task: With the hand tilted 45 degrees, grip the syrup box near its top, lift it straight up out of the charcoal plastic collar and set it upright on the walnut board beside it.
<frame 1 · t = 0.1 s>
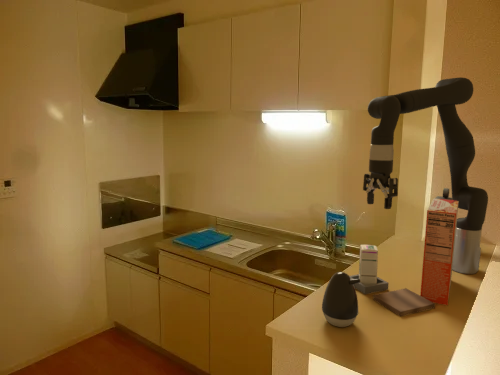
hand: (378, 206, 128), 29 cm above the worktop, tool pointing down, fingers open, 8 cm apart
board: (403, 303, 122), on the worktop
holder: (366, 286, 135), on the worktop
toy vending machine: (438, 247, 179), on the worktop
syrup box: (366, 286, 135), resting in holder
pump dispenser: (339, 323, 110), on the worktop
pasta box: (436, 289, 133), on the worktop
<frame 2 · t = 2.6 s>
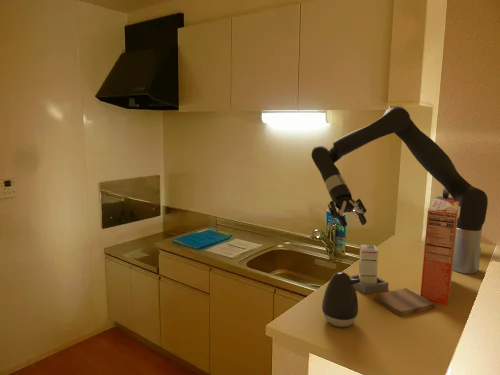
hand: (355, 225, 139), 20 cm above the worktop, tool tilted 45°, fingers open, 8 cm apart
nothing on the worktop moved.
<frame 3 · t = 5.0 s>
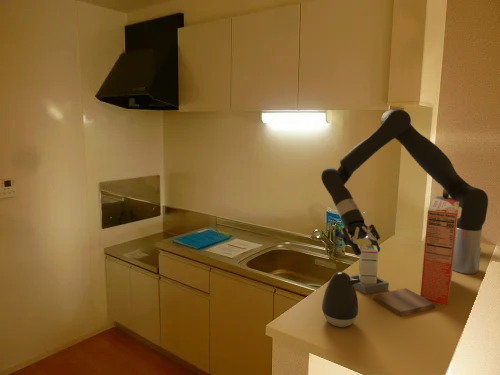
hand: (368, 253, 133), 12 cm above the worktop, tool tilted 45°, fingers closed on syrup box, 7 cm apart
syrup box: (366, 286, 135), resting in holder, touching gripper
everything else where it was.
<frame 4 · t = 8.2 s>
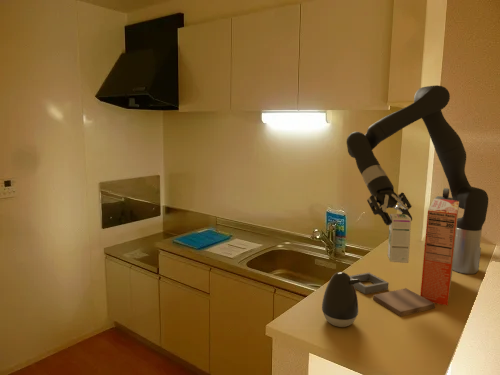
hand: (400, 222, 120), 26 cm above the worktop, tool tilted 45°, fingers closed on syrup box, 7 cm apart
syrup box: (397, 260, 122), point 14 cm above the worktop, touching gripper
everything else where it was.
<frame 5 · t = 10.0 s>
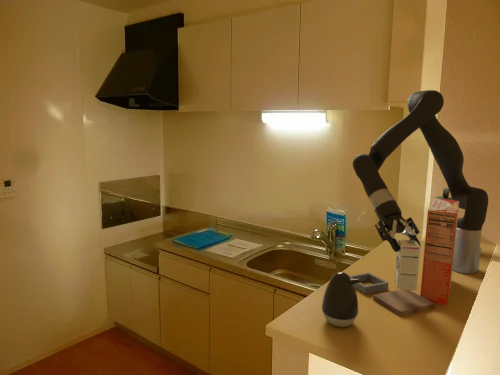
hand: (408, 249, 118), 18 cm above the worktop, tool tilted 45°, fingers closed on syrup box, 7 cm apart
syrup box: (405, 286, 120), point 6 cm above the worktop, touching gripper
everything else where it was.
when the fingers open (15 cm above the worktop, at t = 11.4 s): syrup box drops 1 cm, resting on board.
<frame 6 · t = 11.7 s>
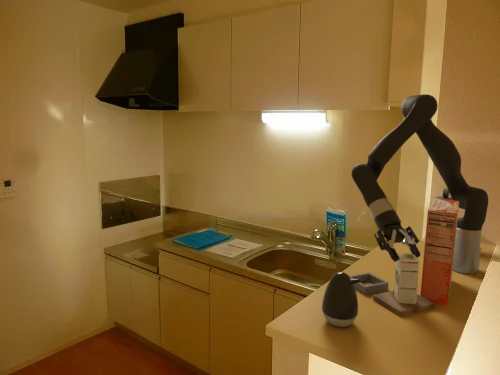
hand: (407, 258, 119), 15 cm above the worktop, tool tilted 45°, fingers open, 8 cm apart
syrup box: (404, 300, 121), point 1 cm above the worktop, touching board
everything else where it was.
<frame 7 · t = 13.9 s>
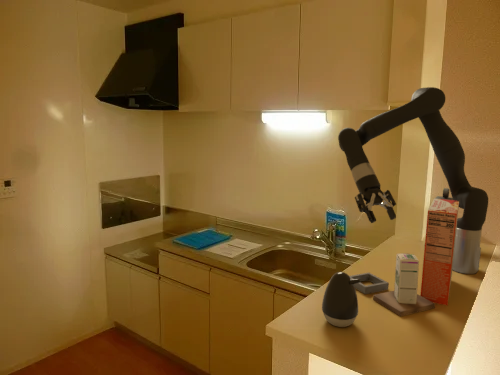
hand: (383, 220, 128), 25 cm above the worktop, tool tilted 35°, fingers open, 8 cm apart
nothing on the worktop moved.
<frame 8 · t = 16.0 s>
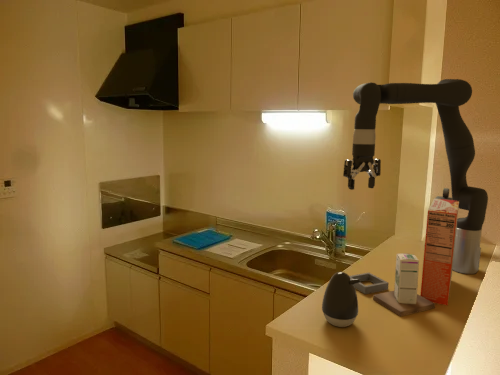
hand: (361, 188, 134), 34 cm above the worktop, tool pointing down, fingers open, 8 cm apart
nothing on the worktop moved.
at the end: syrup box inside the target area (0.4 cm from its centre), point 1.3 cm above the worktop; syrup box tilted 0°; the gripper is holding nothing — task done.
